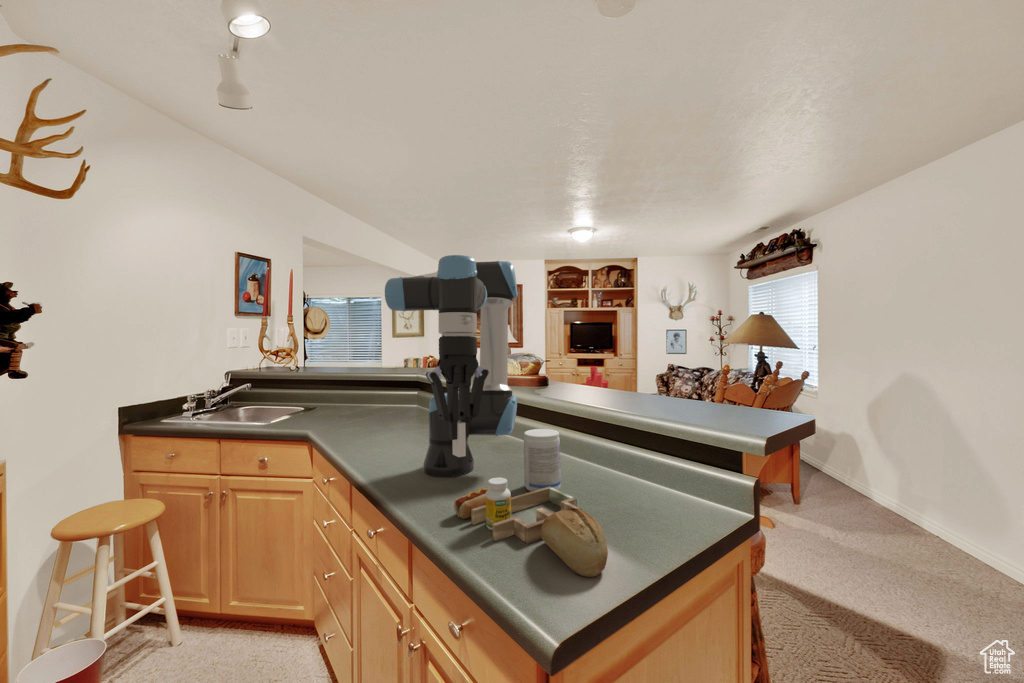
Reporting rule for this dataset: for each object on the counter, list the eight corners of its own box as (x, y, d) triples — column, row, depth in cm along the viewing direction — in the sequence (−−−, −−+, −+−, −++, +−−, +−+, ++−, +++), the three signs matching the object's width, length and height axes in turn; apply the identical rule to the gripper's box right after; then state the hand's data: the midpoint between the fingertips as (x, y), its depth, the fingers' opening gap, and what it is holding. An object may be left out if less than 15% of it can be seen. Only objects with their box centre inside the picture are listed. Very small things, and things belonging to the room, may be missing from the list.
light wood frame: (471, 523, 85) (471, 509, 85) (549, 498, 97) (549, 486, 97) (508, 551, 73) (508, 535, 73) (591, 519, 86) (591, 505, 86)
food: (495, 498, 98) (495, 478, 98) (510, 505, 94) (510, 484, 94) (449, 517, 88) (448, 494, 88) (464, 525, 84) (464, 501, 84)
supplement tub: (568, 489, 103) (567, 433, 103) (539, 498, 98) (538, 438, 98) (545, 479, 111) (544, 426, 111) (517, 486, 106) (516, 431, 106)
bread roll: (570, 533, 80) (569, 494, 80) (623, 571, 67) (623, 524, 67) (529, 546, 75) (528, 504, 75) (577, 589, 62) (577, 538, 62)
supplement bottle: (502, 517, 87) (501, 474, 87) (516, 527, 83) (515, 481, 83) (481, 524, 84) (480, 479, 84) (494, 534, 79) (494, 487, 79)
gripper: (435, 334, 71) (436, 466, 71) (496, 335, 79) (497, 453, 78) (419, 335, 77) (420, 456, 77) (477, 335, 85) (478, 446, 85)
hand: (459, 455), depth 78 cm, fingers closed
